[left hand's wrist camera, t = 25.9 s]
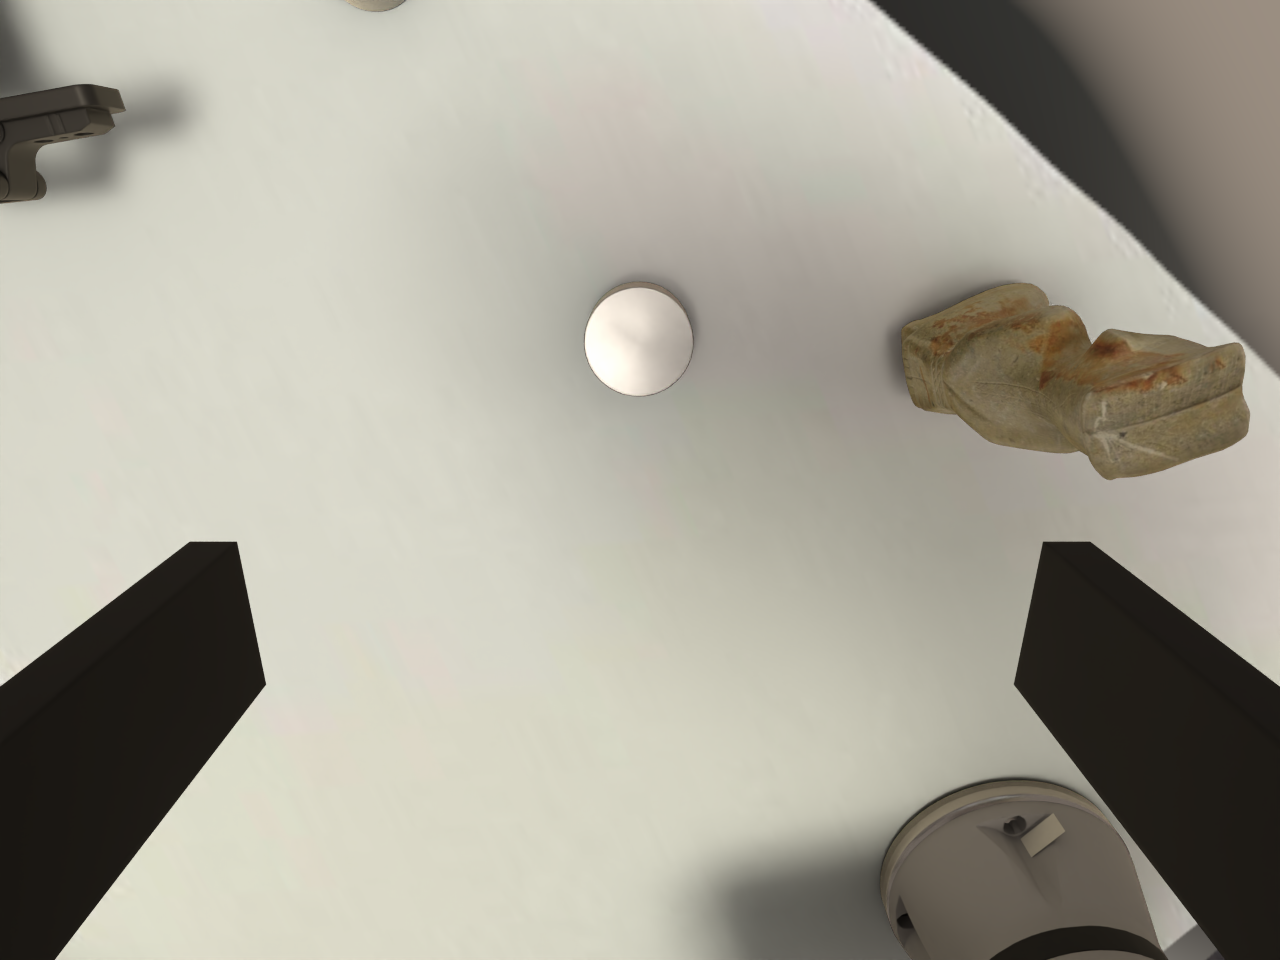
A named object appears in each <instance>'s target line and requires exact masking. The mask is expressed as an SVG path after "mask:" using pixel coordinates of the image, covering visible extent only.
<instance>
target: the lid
mask: <svg viewBox="0 0 1280 960" xmlns="http://www.w3.org/2000/svg"><path fill="white" fill-rule="evenodd" d="M584 349H585V354H586V358H587V361H588V363H589V365H590V367H591V369H592V371H593V372H594V374H595V375H596V376H597V377H598V379H599V380H600V381H601V382H602V383H604V384H605V385H606V386H608V387H609V388H610V389H612V390H614V391H616V392H619V393H621V394H624V395H629V396H648V395H653V394H656V393H659V392H661V391H663V390H665V389H667V388H669V387H670V386H672V385H673V384H674V383H675V382H676V381H677V380H678V379H679V378H680V377H681V376H682V374H683V373H684V372H685V370H686V368H687V367H688V365H689V362H690V359H691V356H692V352H693V331H692V327H691V324H690V321H689V319H688V316H687V314H686V312H685V309H684V308H683V306H682V304H681V303H680V302H679V301H678V299H677V298H676V297H675V296H674V295H673V294H672V293H670V292H669V291H667V290H666V289H664V288H662V287H660V286H658V285H655V284H652V283H648V282H630V283H625V284H622V285H619V286H617V287H615V288H613V289H612V290H610V291H609V292H607V293H606V294H605V295H604V296H603V297H602V298H601V299H600V300H599V301H598V303H597V304H596V306H595V307H594V309H593V311H592V313H591V315H590V318H589V320H588V323H587V326H586V329H585V334H584Z"/></svg>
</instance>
